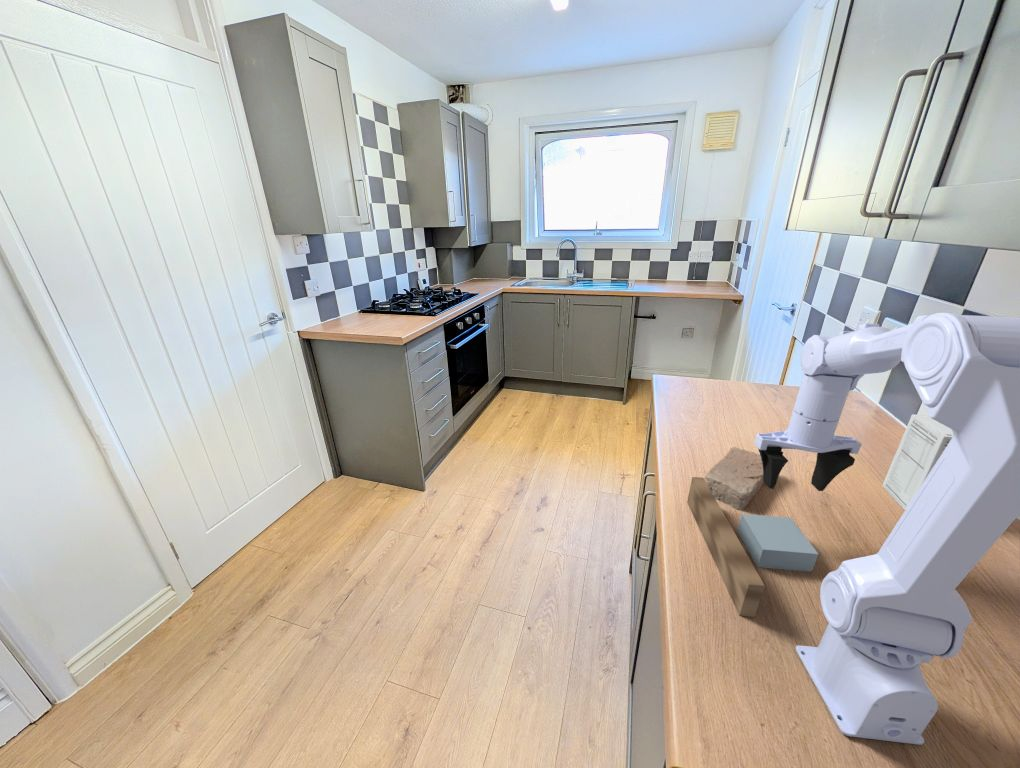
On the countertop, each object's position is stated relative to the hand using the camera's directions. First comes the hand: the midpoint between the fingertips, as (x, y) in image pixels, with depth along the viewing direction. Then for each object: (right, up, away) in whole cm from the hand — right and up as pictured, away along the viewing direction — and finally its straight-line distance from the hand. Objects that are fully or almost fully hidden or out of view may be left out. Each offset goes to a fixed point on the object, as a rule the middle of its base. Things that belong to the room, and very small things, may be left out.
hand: (792, 486), depth 65 cm
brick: (0, -5, +17) cm, 18 cm away
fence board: (-13, -11, +1) cm, 17 cm away
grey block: (-3, -11, +1) cm, 12 cm away
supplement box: (+33, -6, +11) cm, 35 cm away
